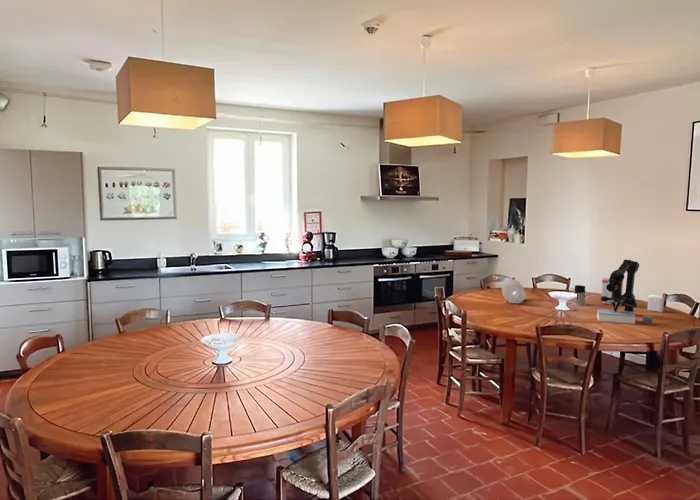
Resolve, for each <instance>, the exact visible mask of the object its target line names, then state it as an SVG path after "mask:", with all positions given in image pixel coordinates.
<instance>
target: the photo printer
mask: <svg viewBox="0 0 700 500" xmlns="http://www.w3.org/2000/svg"><path fill="white" fill-rule="evenodd" d="M664 301H665V299H664V297H663V296H661V295H658V294H650V295H648V297H647V311H652V312H658V313H664V304H665V303H664Z"/></svg>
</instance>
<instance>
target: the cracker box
mask: <svg viewBox="0 0 700 500" xmlns="http://www.w3.org/2000/svg"><path fill="white" fill-rule="evenodd" d="M609 278H610V277H609ZM609 278H608V277H607V278H606V277H604V278H602V282H601V296H607V297H608V298H612V292H610V291H608V290H607V289H606V286H607V285H608V284H610V282H609ZM623 285H624V281H623V282H622V287H621V295H623V287H624V286H623ZM600 301H601V300H600ZM600 304H601V305H608V306H609V305H610V306H613V304H612V303H610V300H608V301H601V302H600ZM615 306H616V302H615ZM621 306H622V304H620V305H619V306H618V307H621Z"/></svg>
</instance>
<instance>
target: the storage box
mask: <svg viewBox="0 0 700 500" xmlns="http://www.w3.org/2000/svg"><path fill="white" fill-rule="evenodd" d="M596 311H597V310H596ZM596 319H597V322H603V323H605V322H606V323H614V324H615V323H616V324H617V323H618V324H626V325H636V316H635V317H626V316H615V315H603V314H599V313H598V311H597V313H596Z"/></svg>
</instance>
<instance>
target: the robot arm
mask: <svg viewBox="0 0 700 500" xmlns="http://www.w3.org/2000/svg"><path fill="white" fill-rule="evenodd" d="M639 268H640V263H639V262H638V261H634V260H631V259H623V262H622V263H621V264H620V266H619V267H618V268H617V269H615V270H613V271H612V272H610V276H609V282H610V284H608V285H607V286H606V289H607V290H608V291H610V292H612V298H608V297H607V296H602V295H601V296H600V301H608V300H610V303H612V304H613V305H612V307H613V310H614V311H615V312H616V311H618V309H619V307H620V306H619V305H620V304H622V305H621V306H622V307H623V308H624V309H623V311H627V312H633V313H634V308H637V306H638V303H637V301H636V296H635V295H634V285H635V276H636V273H637V272H638V270H639ZM625 273H627V275H626V284H625V292H624V293H623V294H622V295H621V287H622V282H623V283H624V280H625ZM615 302H616V305H615Z"/></svg>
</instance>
